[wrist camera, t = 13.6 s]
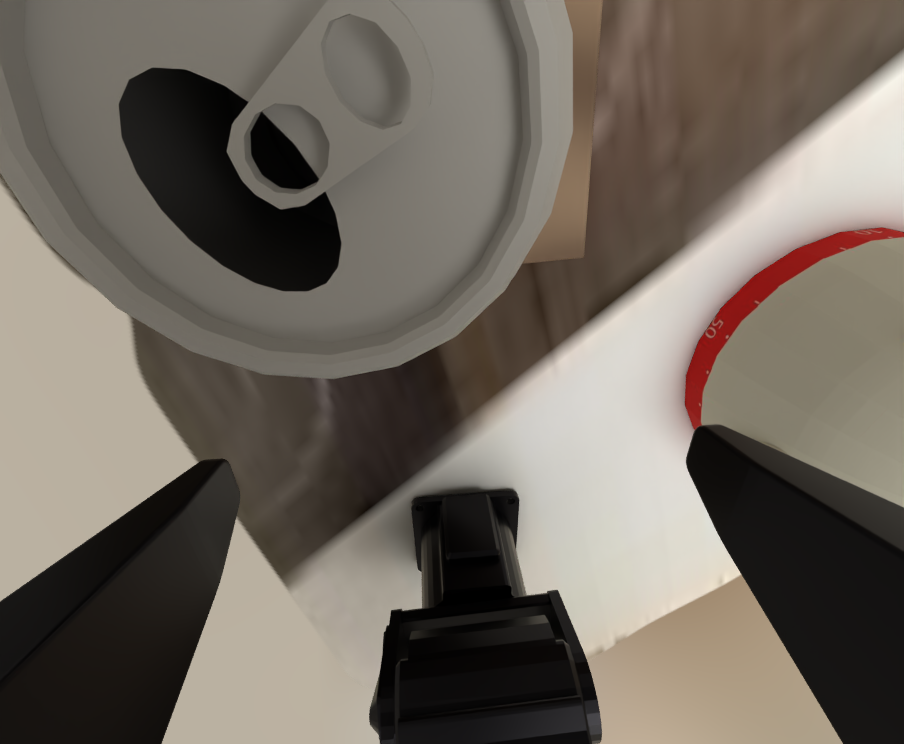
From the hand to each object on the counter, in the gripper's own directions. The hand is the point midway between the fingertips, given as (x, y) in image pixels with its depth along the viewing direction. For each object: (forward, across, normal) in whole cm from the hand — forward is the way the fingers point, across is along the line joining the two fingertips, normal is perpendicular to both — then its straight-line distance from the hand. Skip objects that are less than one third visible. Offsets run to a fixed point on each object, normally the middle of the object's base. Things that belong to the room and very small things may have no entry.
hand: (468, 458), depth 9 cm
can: (+11, +3, -6) cm, 13 cm away
